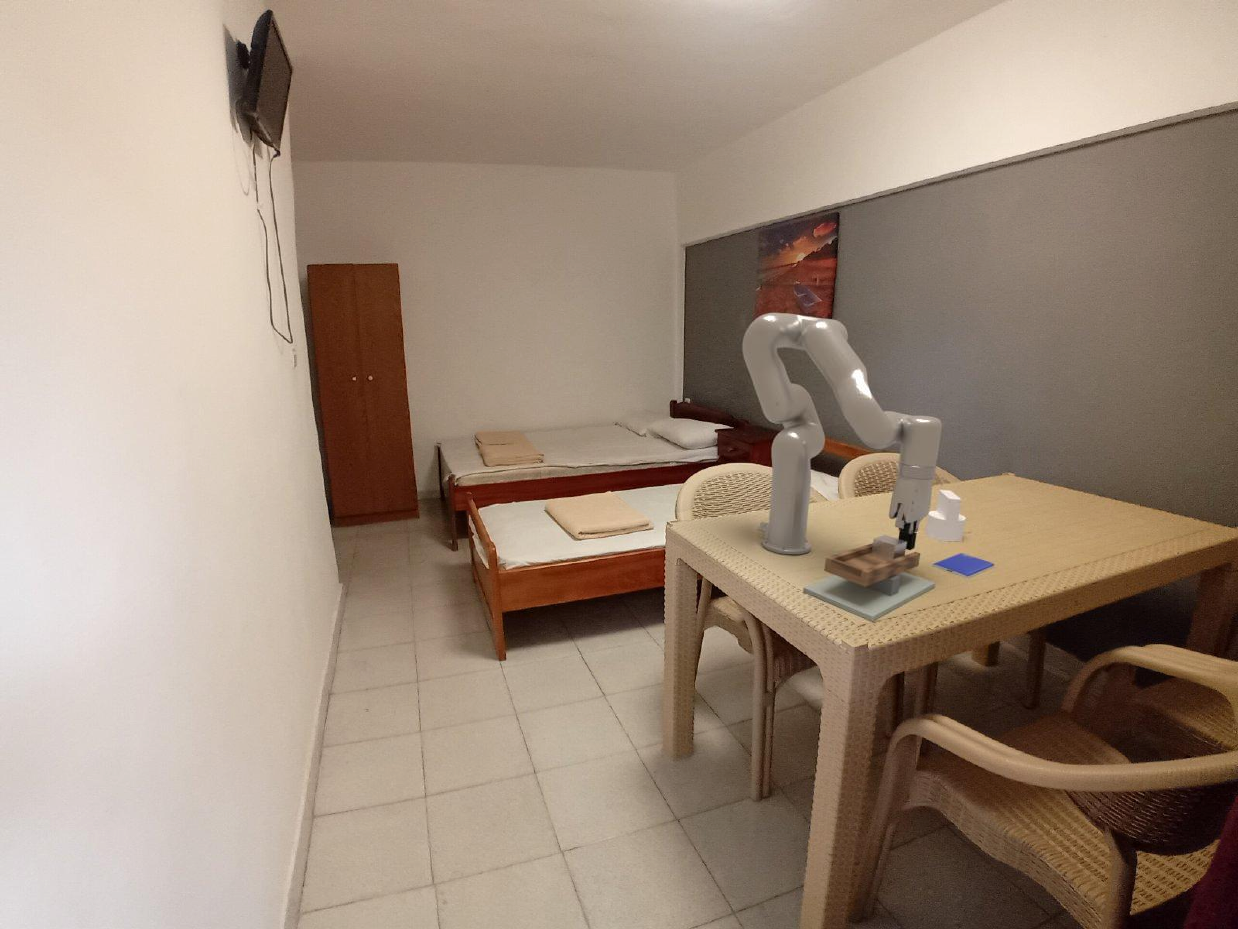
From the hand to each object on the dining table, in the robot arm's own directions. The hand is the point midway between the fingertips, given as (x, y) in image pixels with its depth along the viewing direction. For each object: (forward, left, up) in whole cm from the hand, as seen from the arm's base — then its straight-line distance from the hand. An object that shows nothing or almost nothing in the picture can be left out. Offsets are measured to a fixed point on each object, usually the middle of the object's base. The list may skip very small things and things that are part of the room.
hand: (905, 547), depth 137 cm
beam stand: (0, -14, -6) cm, 15 cm away
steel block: (0, -8, 0) cm, 8 cm away
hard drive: (+7, +16, -7) cm, 19 cm away
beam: (0, -14, -2) cm, 14 cm away
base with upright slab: (-6, +34, -7) cm, 35 cm away
